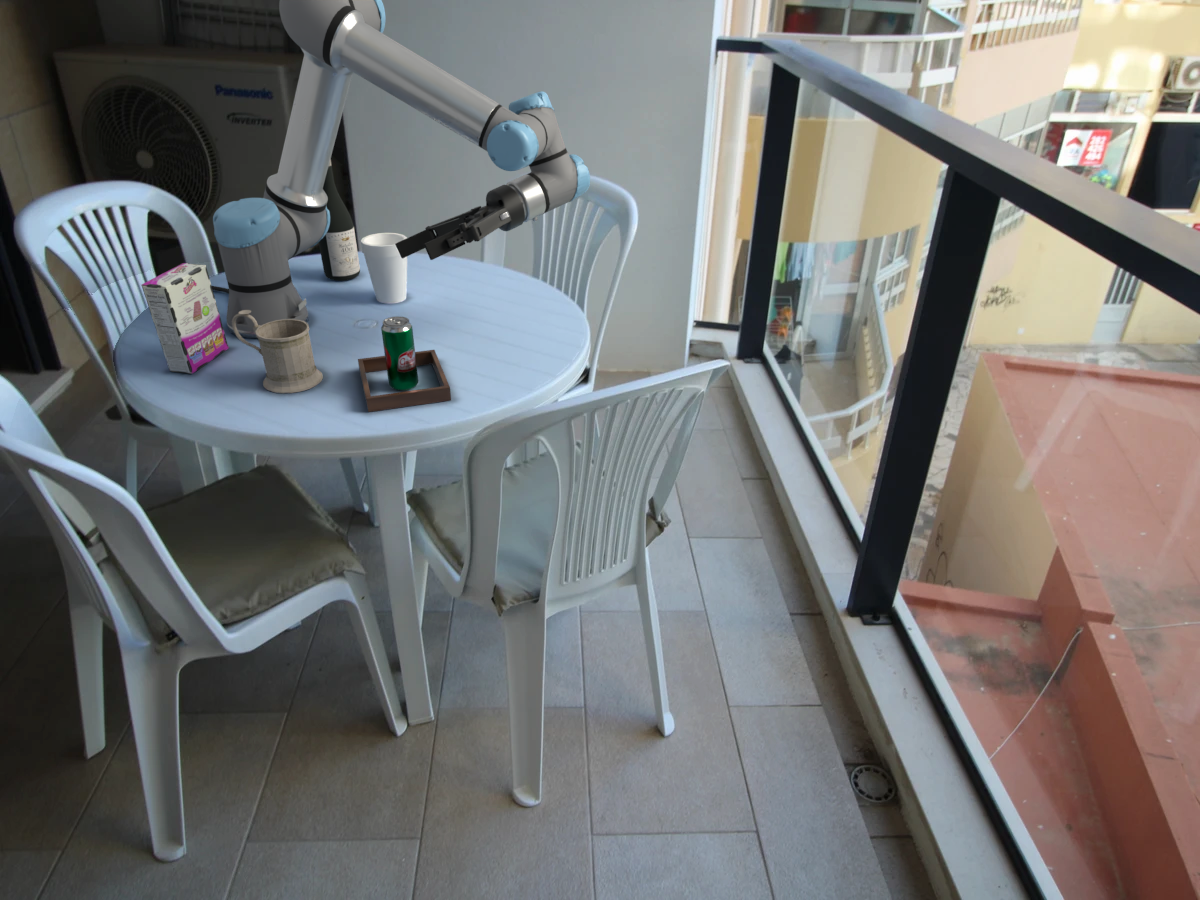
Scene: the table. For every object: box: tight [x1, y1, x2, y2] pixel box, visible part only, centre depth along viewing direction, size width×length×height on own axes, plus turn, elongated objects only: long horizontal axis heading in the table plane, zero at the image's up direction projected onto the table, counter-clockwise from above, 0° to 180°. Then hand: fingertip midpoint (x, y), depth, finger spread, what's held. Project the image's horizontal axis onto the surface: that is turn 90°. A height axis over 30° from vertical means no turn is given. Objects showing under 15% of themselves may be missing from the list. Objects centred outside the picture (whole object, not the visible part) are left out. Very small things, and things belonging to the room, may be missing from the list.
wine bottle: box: [318, 158, 361, 282], centre depth 172 cm, size 8×8×30 cm
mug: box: [232, 310, 324, 394], centre depth 133 cm, size 14×10×12 cm
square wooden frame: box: [357, 349, 452, 413], centre depth 134 cm, size 16×14×2 cm
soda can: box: [380, 315, 419, 392], centre depth 132 cm, size 5×5×12 cm
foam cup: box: [360, 232, 408, 305], centre depth 165 cm, size 10×9×13 cm
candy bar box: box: [140, 262, 230, 375], centre depth 137 cm, size 11×5×16 cm, turn 168°
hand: (412, 251), depth 131 cm, fingers open, 13 cm apart
